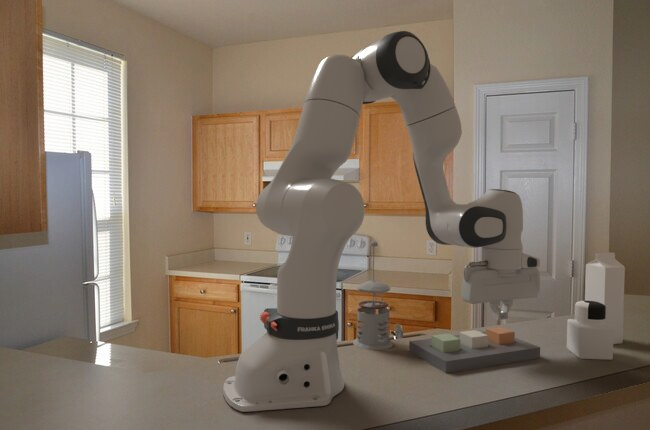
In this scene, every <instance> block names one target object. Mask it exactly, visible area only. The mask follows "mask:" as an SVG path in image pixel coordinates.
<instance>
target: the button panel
mask: <svg viewBox="0 0 650 430" xmlns="http://www.w3.org/2000/svg"><path fill="white" fill-rule="evenodd" d="M480 332H481V333H483V334H486V331H480ZM454 336H455V337H457V338H459V337H460V334H456V335H455V334H454ZM408 347H409V348H408V352H410V353H411V354H413V355H415V356H417V358H420V359H422V360H423V361H424V360H425V362H426V361H427V362H426V363H428V364H430V365H431V366H433V367H435V368H436V367H437V368H436V369H438V370H439V371H441V370H442V372H443V373H445V374H447V373H452V372H453V373H454V372H461V371H467V370H472V369H479V368H484V367H485V368H486V367H491V366H492V367H493V366H497V365H504V364H510V363H516V362H523V361H530V360H535V359H540V358H541V347H540V346H538V345H535V344H533V343H529V342H527V341H525V340H522V339H520V338H517V337H515V338H514V343H511V344H504V345H497V344H495V343H493V342H490V341H488V347H483V348H476V349H470V348H468V347H466V346H464V345H462V344H460V351H454V352H447V353H442V352H440V351H438V350H436V349H434V348H432V337H431V338H426V339H425V338H424V339H417V340H416V339H415V340H410V341H409V343H408Z"/></svg>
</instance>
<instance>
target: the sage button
mask: <svg viewBox="0 0 650 430" xmlns="http://www.w3.org/2000/svg"><path fill="white" fill-rule="evenodd" d="M431 338H432V348H434V349H436V350H438V351H440V352H442V353H447V352H454V351H460V339H459V338H457V337H455V335H453V334H450V333H440V334H434V335H433V334H432V335H431Z"/></svg>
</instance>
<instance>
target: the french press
mask: <svg viewBox="0 0 650 430" xmlns="http://www.w3.org/2000/svg"><path fill="white" fill-rule="evenodd" d="M378 245H379V244H378V242H377V241H376V240H373V241H371V242H369V246H370V247H372V249H373V250H372V255H373V257H372V262H373V263H372V280H368V281H365V282H362V283H360V284H359V285H357V287H356V289H357V290H359V291H360V292H364V293H370V294H371V293H372V300H363V301H362V300H361V301H360V302H359V303H358V306H359V308H357V315H356V316H357V318H356V320H357V323H356V324H357V325H356V327H357V329H356V331H357V333H356V338H355V339H354V340H353V342H352V344H353V345H354V346H355V347H356V348H360V349H362V350H363V349H364V350H368V351H370V350H371V351H380V350H387V349H391V348H392V347H393V346H394V342H393V341H392V340H391V339H390V309H388V308H387V307H389V304H388V303H387V302H385V301H383V300H384V296H383V293H387V292H390V291H391V287H390V286H389V285H388V284H386V283H384V282H381V281H379V280H375V247H378ZM378 293H379V294H378ZM380 296H381V300H379V301H378V300H377V297H380Z"/></svg>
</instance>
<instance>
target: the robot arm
mask: <svg viewBox="0 0 650 430" xmlns="http://www.w3.org/2000/svg"><path fill="white" fill-rule="evenodd" d="M429 57H430V56H429V54H428V51H427V49H426V47H425V45H424V43H423V42H422V41H421V40H420V38H419V37H418V36H417V35H416V34H414V33H412V32H410V31H407V30H400V31H399V30H398V31H395V32H392V33H388V34H386V35H384V36H383V37H382V38H380V39H378V40H377V41H375V42H373V43H370V44H368V45H366V46H365V47H363V48H362V49H360V50H358V52H356V53H355V55H352V56H348V55H345V54H332V55H329V56H327V57H325V58H323V59H322V60H321V62H320V63H319V64H318V66H317V68H316V70H315V72H314V74H313V76H312V79H311V81H310V84H309V87H308V89H307V92H306V95H305V99H304V102H303V106H302V110H301V113H300V117H299V120H298V123H297V126H296V132H295V134H294V138H293V141H292V143H291V146H290V148H289V150H288V151H287V154H286V156H285V157H284V159H283V161H282V163H281V165H280V166H279V169H278V170H277V172H276V173H275V176H274V177H273V179H272V180H271V181H270V183H268V185H266V186H265V187H264V188H263V189H262V190H261V191H260V193H259V194H258V197H257V200H256V205H255V207H256V208H255V209H256V211H255V212H256V215H257V218H258V219H259V222H260V223H261V224H262V225H263V226H264V227H265V228H268V229H269V230H271V231H272V232H274V233H276V234H279V235H282V236H287V237H292V240H291V245H290V249H289V253H288V255H287V258H286V260H285V261H284V262H283V263H282V264H281V265H279V266H280V267H279V268H278V271H277V274H276V276H277V279H276V287H277V289H276V291H277V292H276V301H277V302H276V305H277V307H276V309H277V310H276V311H275V312H273V313H272V314H270V313H269V312H268V311H263V312H261V314H260V316H259V320H260V321H261V323H263V324H264V325H266V332H265V334H263V335H262V336H261V337H260V338H258V339H257V340H256V341H255V342H253V343H251V345H250V346H249V347H248V348H246V349H245V350H243V351H242V352H241V354H240V355H239V358H238V360H237V364H236V368H235V375H233V376H229V377H228V378H227V379H225V381H224V383H223V387H222V394H223V397H224V399H225V401H226V402H227V404H228V405H229V406H230V407H231V408H233V409H234V410H237V411H239V412H242V413H243V412H245V413H247V412H259V411H260V412H261V411H262V412H263V411H274V410H287V409H300V408H311V407H323V406H328V405H329V404H330V403H331V402H332V399H333V398H334V397H335V396H337V395H338V394H340V393H341V392H342V391H343V389H344V388H345V381H344V378H343V375H342V371H341V367H340V364H341V363H340V360H339V353H338V352H339V351H338V339H339V331H340V329H339V327H340V326H339V325H340V323H339V312H338V310H337V281H338V279H337V277H338V269H339V264H340V260H341V257H342V254H343V252H344V249H345V247H346V245H347V243H348V241H349V240H350V238H352V236H354V234H356V233H357V232H358V230H359V229H360V228H361V226H362V224H363V221H364V218H365V202H364V198H363V196H362V193H361V192H360V190H359V189H358V188H356V187H355V186H354V185H353V184H351V183H348V182H345V181H342V180H339V179H334V178H333V176H334V174H335V173H336V172H337V170H339V169H340V167H341V166H342V165H344V164H345V163H346V162H347V161H348V160H349V158H350V156H351V154H352V150H353V146H354V142H355V137H356V133H357V130H358V126H359V125H358V124H359V122H360V117H361V113H362V107H363V105H369V104H372V103H375V102H376V101H380V100H383V99H387V98H390V97H391V99H393V100H394V101H395V102H396V103H397V104H398V106H399V107H400V111H401V115H402V118H403V121H404V125H405V126H406V129H407V133H408V136H409V139H410V143H411V147H412V157H413V158H412V159H413V163H414V164H413V165H414V169H415V173H416V177H417V181H418V184H419V187H420V188H419V189H420V191H421V196H422V199H423V203H424V209H425V228H426V229H425V230H426V232H427V234H428V236H429V238H431V240H433V242H435V243H437V244H439V245H443V246H445V245H446V246H459V247H466V248H471V249H476V248H481V260H480V261H470V262H469V263H468V264H467V265H466V266H465V267H464V268H463V277H462V281H461V282H462V283H461V289H460V290H461V291H460V297H461V299H462V301H463V302H465V303H468V304H471V305H476V304H487V303H488V305H489V307H490V309H491V311H492V318H493V320H495V321H502V320H508V319H509V312H510V310H511V308H512V306H513V304H514V303H513V301H514V300H515V301H516V300H525V299H532V298H533V299H534V298H537V297H538V296H539V295H540V293H541V273H540V270H539V269H538V268H540V265H541V260H540V258H539V257H535V256H533V255H530V254H527V253H524V252H523V250H524V249H523V247H524V246H523V243H522V233H523V230H524V228H523V227H524V212H523V211H524V210H523V202H522V199H521V197H520V195H519V194H517V192H514V191H511V190H507V189H500V188H498V189H497V188H496V189H495V188H493V189H491V188H490V189H487V190H486V191H485V193H484V194H483V195H481V196H480V197H478V198H477V199H475V200H473V201H471V202H468V204H465V203H464V204H460V203H459V204H458V203H456V202H455V201H454V200H453V199H452V197H451V195H450V194H451V193H450V191H449V187H448V183H447V179H446V174H445V171H444V164H445V160H446V158H447V157H448V155H450V154H451V152H453V151H454V149H455V148H456V147H457V145H458V144H459V142H460V140H461V137H462V132H463V131H462V121H461V117H460V115H459V112H458V109H457V106H456V104H455V101H454V99H453V95H452V93H451V91H450V89H449V86H448V85H447V83H446V81H445V79H444V77H443V76H442V74H441V72H440V71H439V69H438V68H437V67H436V66H435V65H434V64H431V61H430V58H429ZM501 303H502V306H501ZM499 306H501V308H499Z"/></svg>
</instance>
